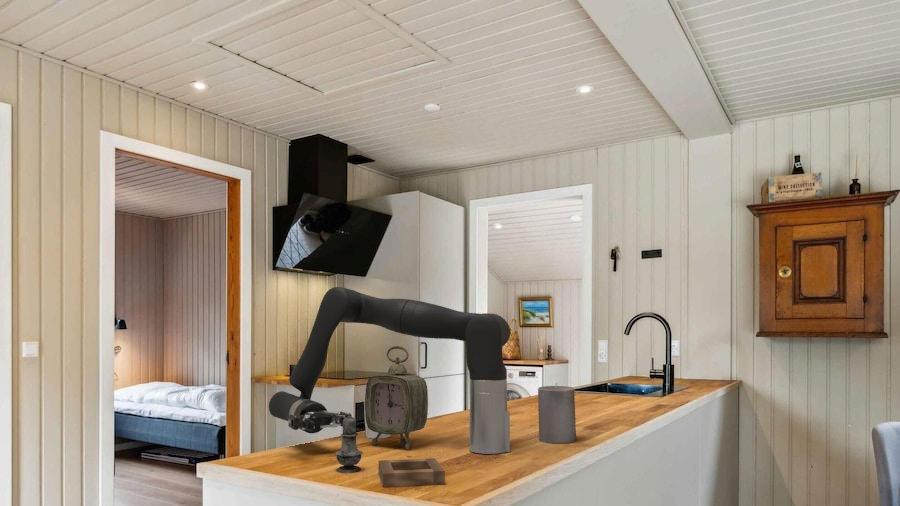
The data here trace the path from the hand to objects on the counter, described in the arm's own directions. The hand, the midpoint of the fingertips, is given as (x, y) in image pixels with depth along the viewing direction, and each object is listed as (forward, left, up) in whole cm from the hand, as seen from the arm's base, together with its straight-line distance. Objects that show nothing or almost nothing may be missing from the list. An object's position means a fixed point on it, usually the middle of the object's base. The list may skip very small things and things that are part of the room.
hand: (330, 424), depth 150 cm
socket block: (-16, +21, -8) cm, 27 cm away
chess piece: (-4, +11, -8) cm, 14 cm away
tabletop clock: (-17, -14, -8) cm, 24 cm away
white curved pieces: (-13, -28, -8) cm, 32 cm away
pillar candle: (-59, -13, -8) cm, 61 cm away
